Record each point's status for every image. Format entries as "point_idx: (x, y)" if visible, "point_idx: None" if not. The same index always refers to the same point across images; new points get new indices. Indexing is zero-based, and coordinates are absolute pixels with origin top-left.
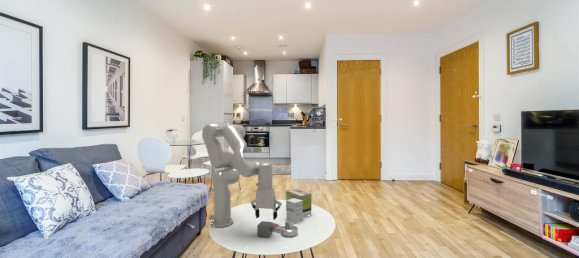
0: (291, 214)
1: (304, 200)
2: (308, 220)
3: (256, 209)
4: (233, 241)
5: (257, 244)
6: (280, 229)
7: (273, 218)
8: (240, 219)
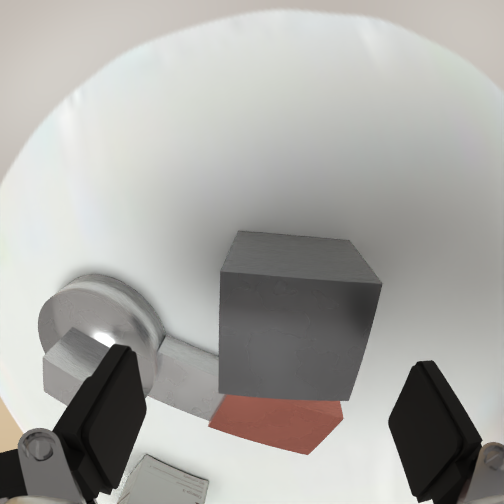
0: (159, 502)
1: None
2: None
3: (481, 469)
4: (495, 129)
5: (300, 88)
6: (164, 358)
7: (125, 357)
8: None
